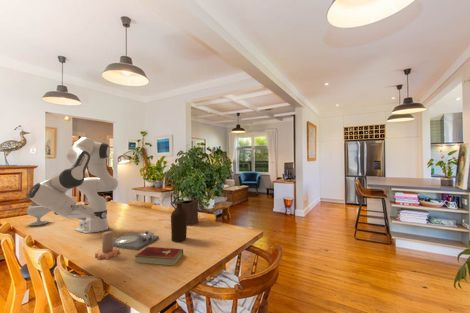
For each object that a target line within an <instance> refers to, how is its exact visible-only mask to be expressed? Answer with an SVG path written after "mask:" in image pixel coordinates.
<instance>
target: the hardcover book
mask: <svg viewBox="0 0 470 313" xmlns="http://www.w3.org/2000/svg"><path fill="white" fill-rule="evenodd" d="M182 256H184V248H176V247H175V248H172V247H160V246H158V247H156V246H145V247H144V248H143V249H142V250H141V251H139V252H138V253H136V254H135V255H134V257H135V263H139V264H140V263H141V264H142V263H143V264H153V265H155V264H156V265H167V266H168V265H169V266H170V265H171V266H174V265H175V264H176V263H177V262H178V261H179V260H180V258H181V257H182Z"/></svg>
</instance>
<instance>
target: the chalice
mask: <svg viewBox="0 0 470 313" xmlns="http://www.w3.org/2000/svg"><path fill="white" fill-rule="evenodd" d="M50 211H51V210H50V209H49V208H44V207H42V206H40V205H38V204H37V203H35V204H31V205H29V206H28V208H27V210H26V214H28V215H27V216H30V217H34V218H36V221H34V222H30V223H29V224H27V226H41V225H45V224H48V223H49V221H47V220H41V219H42V218H43V217H44V216H45V215H47V214H49V213H50Z"/></svg>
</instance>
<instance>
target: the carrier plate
mask: <svg viewBox="0 0 470 313" xmlns="http://www.w3.org/2000/svg"><path fill="white" fill-rule="evenodd" d="M159 239H160V236H159V235H155V233H154V232H153V231H144V232H139V233H137V232H128V233H127V232H126V233H125V234H122V235H121V236H118V237H116V238H113V248H114V247H117V248H119V249H121V248H122V249H127V250H134V251H138V250H140V249H142V248H145V247H147V245H149V244H151V243H153V242H155V241H157V240H159Z"/></svg>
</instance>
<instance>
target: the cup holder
mask: <svg viewBox="0 0 470 313" xmlns="http://www.w3.org/2000/svg"><path fill="white" fill-rule="evenodd" d="M173 194H174V195H177V201H180V195H179V193H178V192H172V193H171V194H170V206H171V207H172V208H174V210H175V209H176V206H174V204H173ZM181 201H182V200H181ZM182 208H183V209H184V210H185V211H186V212H187V227H189V226H195V225H199V223H200V220H199V197H197V198H195V199H192V200H190V199H189V200H188V199H187V200H183V201H182Z"/></svg>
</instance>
